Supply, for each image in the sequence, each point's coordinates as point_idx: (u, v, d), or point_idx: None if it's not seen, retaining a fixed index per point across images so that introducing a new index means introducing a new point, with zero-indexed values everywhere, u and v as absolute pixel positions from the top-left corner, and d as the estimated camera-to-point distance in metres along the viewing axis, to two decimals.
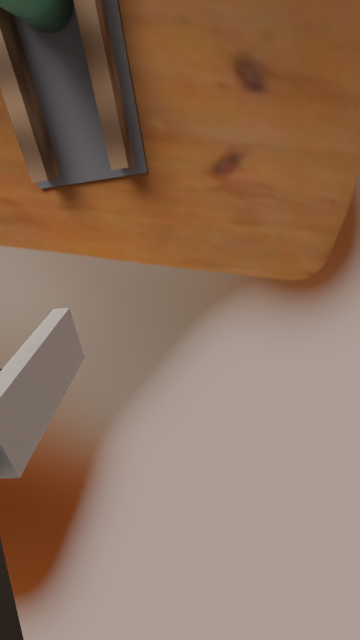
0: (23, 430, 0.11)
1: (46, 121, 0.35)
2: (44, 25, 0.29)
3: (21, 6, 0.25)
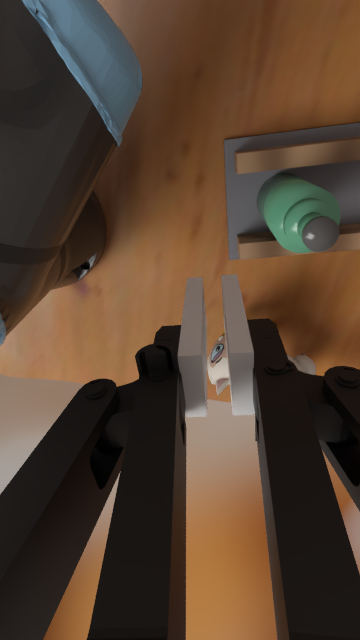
0: (204, 375, 0.12)
1: None
2: None
3: None
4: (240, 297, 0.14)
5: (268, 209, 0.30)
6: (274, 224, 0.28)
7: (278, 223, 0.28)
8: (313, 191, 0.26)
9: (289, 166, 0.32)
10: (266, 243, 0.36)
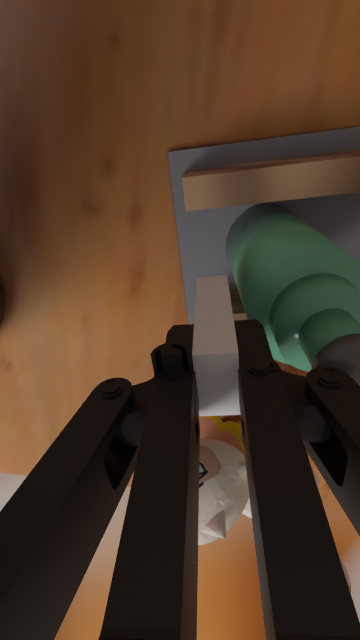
0: None
1: None
2: None
3: None
4: (229, 298, 0.14)
5: (241, 279, 0.17)
6: None
7: (260, 318, 0.14)
8: (329, 261, 0.13)
9: (273, 198, 0.18)
10: (239, 316, 0.22)
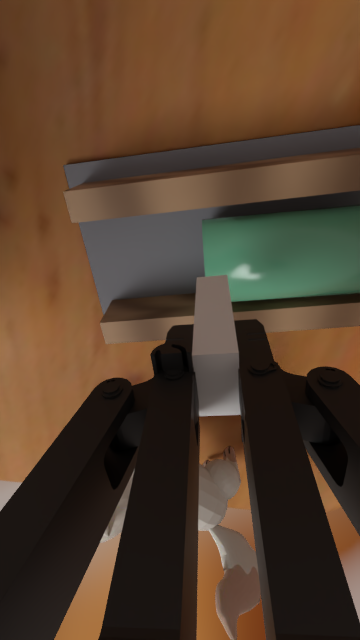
0: None
1: None
2: None
3: None
4: (229, 298, 0.14)
5: (339, 258, 0.18)
6: None
7: None
8: None
9: (151, 211, 0.19)
10: (140, 322, 0.23)
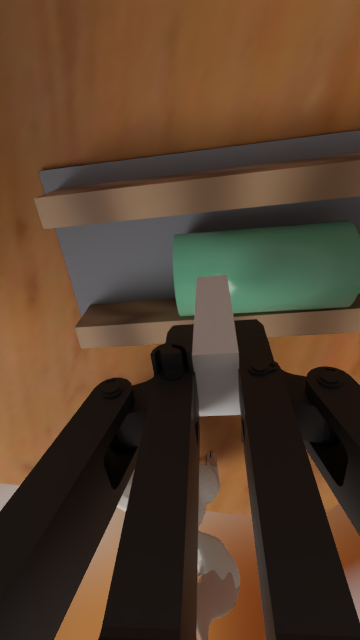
0: None
1: None
2: None
3: None
4: (229, 298, 0.14)
5: (304, 284, 0.19)
6: (358, 289, 0.19)
7: None
8: None
9: (121, 218, 0.19)
10: (114, 328, 0.23)
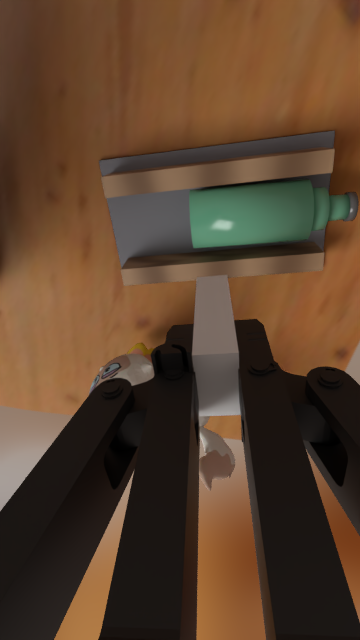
0: None
1: (260, 244, 0.35)
2: None
3: None
4: (229, 298, 0.14)
5: (276, 204, 0.28)
6: (313, 209, 0.28)
7: None
8: None
9: (157, 190, 0.30)
10: (148, 269, 0.34)
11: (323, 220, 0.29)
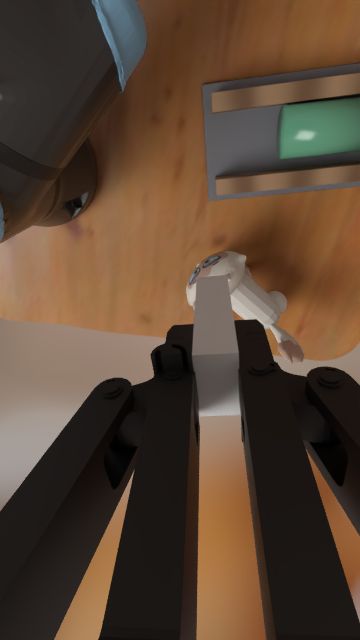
0: None
1: (331, 162, 0.41)
2: None
3: None
4: (229, 298, 0.14)
5: (359, 111, 0.34)
6: None
7: None
8: None
9: (257, 104, 0.36)
10: (239, 179, 0.40)
11: None
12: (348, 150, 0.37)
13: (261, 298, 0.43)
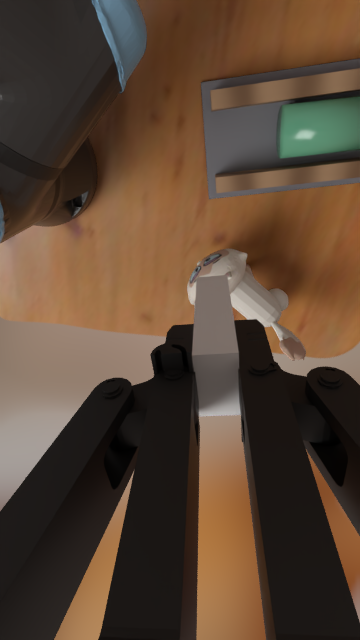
0: None
1: (331, 159, 0.41)
2: None
3: None
4: (229, 298, 0.14)
5: (358, 113, 0.34)
6: None
7: None
8: None
9: (257, 101, 0.36)
10: (239, 177, 0.40)
11: None
12: (347, 150, 0.38)
13: (262, 296, 0.43)
